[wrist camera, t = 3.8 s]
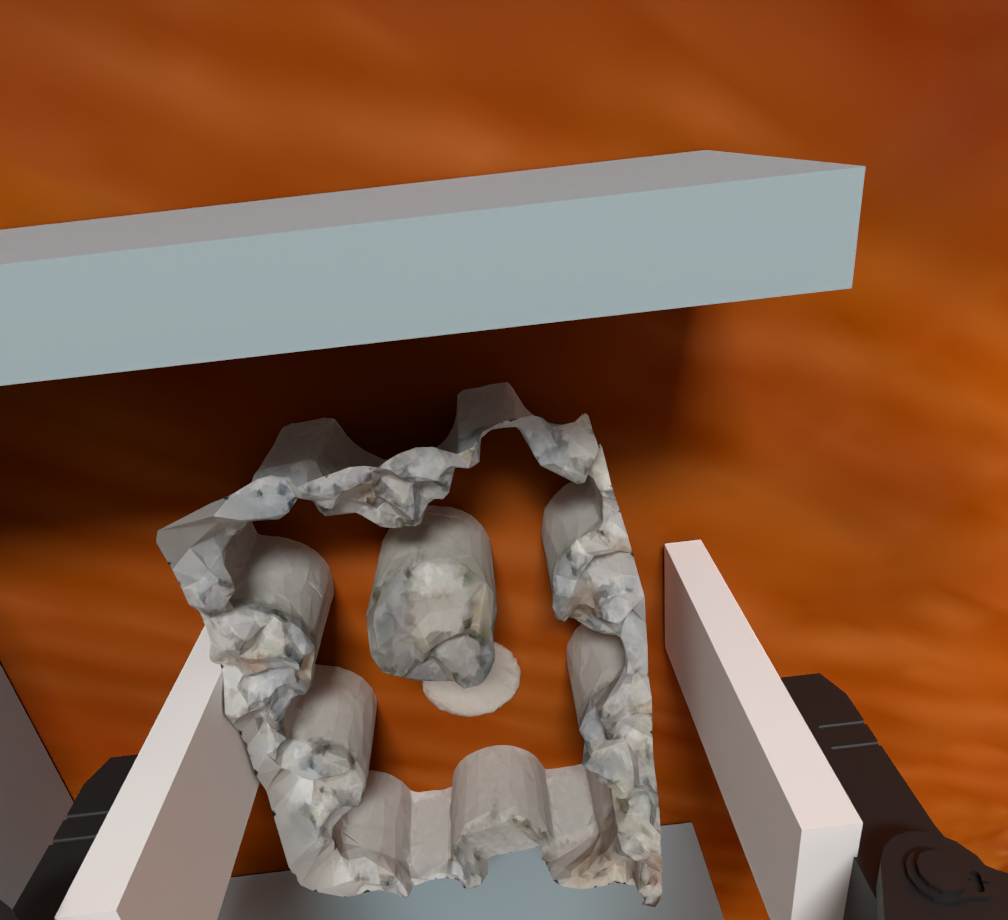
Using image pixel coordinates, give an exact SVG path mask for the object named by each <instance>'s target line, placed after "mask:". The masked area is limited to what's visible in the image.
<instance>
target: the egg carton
mask: <svg viewBox="0 0 1008 920" xmlns="http://www.w3.org/2000/svg"><path fill="white" fill-rule="evenodd" d="M505 427H516V428H517V429H519V430H520V431H521V433H522V435H523V437H524V438H525V440H526V442H527V444H528V446H529V447H530V449H531V451H532V453H533V455H534V456H535V458H536V459H537V461H538V462H539V464H540V465H541V466H542V467H544V468H546V469H548V470H550V471H552V472H554V473H556V474H558V475H560V476H562V477H564V478H566V479H568V480H570V481H571V482H570V483H568V484H566V485H564V486H563V487H562V488H561V489H560V490H559V491H558V492H557V493H556V494H555V495H554V496H553V497H552V499H551V500H550V501H549V503H548V504H547V506H546V507H545V509H544V514H543V521H542V528H541V534H542V540H543V546H544V551H545V555H546V561H547V567H548V573H549V579H550V585H551V590H552V593H553V610H554V613H555V616H556V620H561V621H566V620H567V618H575V619H576V620H578V621H579V622H581V624H580V625H579V626H578V627H577V628H576V629H575V631H574V633H573V634H572V636H571V638H570V640H569V642H568V644H567V658H566V659H567V666H568V672H569V677H570V682H571V688H572V693H573V698H574V703H575V708H576V714H577V719H578V725H579V731H580V734H581V735H582V737H583V739H584V741H585V744H584V752H583V760H582V764H579V765H575V766H567V767H562V768H556V769H545V768H544V767H543V766H542V764H541V763H540V762H539V760H538V759H537V758H536V757H535V756H534V755H533V754H531V753H530V752H528V751H526V750H524V749H521V748H518V747H514V746H508V745H498V746H491V747H486V748H483V749H481V750H478V751H476V752H474V753H472V754H470V755H468V756H466V757H465V758H464V759H463V760H461V761H460V762H459V764H458V765H457V767H456V768H455V771H454V774H453V777H452V787H450V788H447V789H444V790H433V791H426V792H414V791H411V790H410V789H409V788H408V787H407V786H406V785H405V784H404V783H403V782H402V781H401V780H399V779H397V778H396V777H394V776H393V775H390V774H387V773H384V772H379V771H373V770H369V765H370V757H371V750H372V742H373V734H374V727H375V718H376V711H377V697H376V695H375V694H374V692H373V689H372V688H371V687H370V686H369V685H368V683H367V682H366V681H365V680H364V679H363V678H362V677H360V676H359V675H357V674H355V673H354V672H352V671H349V670H346V669H343V668H340V667H337V666H326V665H317V664H315V662H316V658H317V655H318V651H319V647H320V644H321V639H322V635H323V631H324V627H325V624H326V620H327V617H328V613H329V609H330V605H331V602H332V599H333V596H334V581H333V577H332V573H331V571H330V568H329V566H328V564H327V563H326V561H325V560H324V559H323V558H322V557H321V556H320V555H319V553H317V552H316V551H315V550H314V549H312V548H310V547H309V546H307V545H305V544H303V543H301V542H298V541H294V540H291V539H288V538H284V537H277V536H266V535H260V534H258V533H257V531H256V530H255V528H254V525H253V523H252V521H258V520H279V519H280V518H281V517H283V516H284V515H286V514H287V513H288V512H289V511H290V509H291V508H292V506H293V505H294V503H295V502H296V500H297V499H298V498H301V499H306V500H311V501H313V502H314V504H315V505H316V507H317V508H318V510H319V511H320V512H321V513H322V514H324V515H325V516H332V515H340V514H348V513H358V514H360V515H362V516H364V517H365V518H367V519H369V520H370V521H372V522H374V523H375V524H377V525H379V526H380V527H388V528H390V529H389V530H388V532H387V533H386V535H385V536H384V539H383V541H382V545H381V550H380V554H379V558H378V563H377V568H376V573H375V579H374V584H373V589H372V592H371V596H370V600H369V605H368V609H367V613H366V617H367V630H368V638H369V645H370V653H371V657H372V659H373V661H374V662H375V663H376V665H377V666H378V667H379V668H380V669H381V670H382V672H384V673H388V674H391V675H395V676H401V677H402V676H403V677H404V678H408V679H412V680H419V681H422V683H423V691H424V693H425V695H426V696H427V698H428V699H429V700H430V701H431V702H432V703H433V704H434V705H435V706H437V707H438V708H439V709H440V710H443V711H446V712H449V713H451V714H454V715H459V716H465V717H472V716H479V715H482V714H486V713H493V712H494V711H495V710H496V709H497V708H498V707H501V706H502V705H503V704H505V703H506V702H508V701H509V700H511V699H512V697H513V695H514V693H515V692H516V690H517V688H518V687H519V684H520V672H521V670H520V667H519V666H518V664H517V659H516V658H514V657H513V653H512V652H510V651H509V650H508V649H506V648H505V647H504V646H502V645H501V644H498V643H496V642H494V640H493V632H494V626H495V621H496V616H497V601H496V588H495V580H494V569H493V568H494V567H493V557H492V547H491V543H490V541H491V540H490V538H489V536H488V535H487V533H486V531H485V529H484V527H483V526H482V525H481V524H480V523H479V522H478V521H477V520H476V519H475V518H474V517H473V516H472V515H470V514H468V513H466V512H464V511H462V510H460V509H456V508H453V507H444V506H435V505H428V503H429V502H431V501H433V500H434V499H444V498H445V496H446V495H447V494H448V493H449V491H450V486H451V482H452V478H453V474H454V470H455V468H471V467H473V466H475V465H476V464H477V463H479V462H480V445H481V438H482V437H483V436H484V435H485V434H487V433H488V432H489V431H490V430H493V429H498V428H505ZM427 505H428V506H427ZM156 543H157V545H158V547H159V548H160V550H161V552H162V553H163V555H164V557H165V558H166V560H167V562H168V563H169V565H170V567H171V569H172V570H173V572H174V574H175V576H176V578H177V580H178V582H179V584H180V586H181V588H182V590H183V592H184V594H185V597H186V599H187V601H188V603H189V605H191V606H192V607H194V608H195V609H197V610H198V611H199V612H200V614H201V616H202V619H203V621H204V623H205V626H206V628H207V631H208V634H209V637H210V640H211V641H210V654H209V657H210V659H211V661H212V662H214V663H216V664H221V669H222V673H223V683H224V703H225V715H226V716H227V717H228V719H229V720H230V721H231V723H232V724H233V725H234V726H235V728H236V729H237V730H238V731H239V733H240V735H241V737H242V739H243V741H244V743H245V745H246V747H247V750H248V753H249V756H250V759H251V762H252V765H253V768H254V771H255V774H256V776H257V778H258V779H259V781H260V782H261V784H262V785H263V787H264V788H265V790H266V791H267V794H268V798H269V802H270V805H271V809H272V812H273V816H274V819H275V822H276V826H277V829H278V833H279V836H280V839H281V843H282V846H283V850H284V853H285V856H286V860H287V863H288V867H289V868H290V870H291V871H292V873H293V874H294V876H295V877H296V879H297V880H298V882H299V883H300V885H301V886H304V887H306V888H308V889H310V890H312V891H314V892H320V893H325V894H331V895H336V896H341V897H351V896H354V895H358V894H362V893H366V892H370V891H375V890H383V891H386V892H389V893H393V894H397V895H399V896H401V897H402V898H404V899H405V898H407V897H408V896H409V894H410V892H411V890H412V889H413V887H414V886H415V885H417V884H420V883H423V882H426V881H429V880H434V879H440V878H451V879H457V880H458V881H460V882H461V884H462V886H463V888H465V889H468V890H469V889H472V888H474V887H477V886H480V885H481V884H482V882H483V880H484V879H485V877H486V876H487V874H488V860H489V858H490V857H492V856H494V855H499V854H506V853H512V852H516V851H521V850H525V849H529V848H533V847H538V846H541V849H542V860H543V861H545V863H546V865H547V867H548V870H549V872H550V874H551V877H552V879H553V881H555V882H556V883H558V884H559V885H561V886H562V887H569V888H577V889H587V888H596V887H601V886H606V885H609V884H610V883H611V882H613V881H615V882H616V883H620V884H625V885H636V887H637V890H638V892H639V893H640V894H641V895H642V897H643V898H644V899H645V900H644V902H643V904H642V905H646V906H651V907H656V905H657V904H658V902H659V901H660V898H661V894H662V875H661V872H662V874H663V870H662V854H661V844H660V839H661V828H660V814H659V802H658V794H657V782H656V776H655V768H654V759H653V739H652V697H651V691H650V684H649V678H648V647H647V632H646V616H645V597H644V593H643V590H642V586H641V583H640V579H639V576H638V572H637V568H636V564H635V561H634V557H633V553H632V550H631V546H630V542H629V539H628V535H627V532H626V529H625V526H624V522H623V519H622V516H621V513H620V510H619V507H618V504H617V501H616V498H615V495H614V492H613V488H612V485H611V481H610V477H609V473H608V469H607V465H606V460H605V456H604V453H603V449H602V446H601V444H599V445H598V444H597V441H596V438H595V435H594V433H593V430H592V426H591V423H590V419H589V416H588V415H587V414H586V413H583V414H582V415H581V416H580V417H579V418H578V419H577V420H576V421H575V422H573V423H568V424H564V425H559V424H552V423H549V422H547V421H545V420H544V419H543V418H542V417H538V416H534V415H533V414H531V413H530V412H529V411H528V410H527V409H526V408H525V407H524V405H523V404H522V402H521V400H520V399H519V397H518V396H517V395H516V393H515V391H514V389H513V388H512V387H511V386H510V384H509V383H508V382H503V383H496V384H490V385H486V386H482V387H479V388H471V389H466V390H463V391H461V392H460V393H459V394H458V395H457V414H456V418H455V422H454V425H453V428H452V429H451V431H450V433H449V435H448V437H447V438H446V439H445V440H444V441H443V442H442V443H441V444H440V445H439V446H438V447H437V448H435V447H416V448H413V449H411V450H408V451H405V452H402V453H399V454H398V455H396V456H394V457H392V458H390V459H389V460H386V459H382V458H380V457H378V456H375V455H373V454H371V453H369V452H367V451H365V450H364V449H362V448H360V447H359V446H358V445H356V444H355V443H354V442H353V441H352V440H351V439H350V438H349V437H348V436H347V435H346V434H345V432H344V431H343V429H342V428H341V426H340V425H339V424H338V423H337V421H336V420H335V419H333V418H325V417H324V418H320V419H315V420H310V421H305V422H300V423H291V424H289V425H287V426H285V427H282V429H281V431H280V432H279V434H278V436H277V438H276V441H275V443H274V445H273V447H272V448H271V450H270V451H269V453H268V454H267V456H266V458H265V459H264V461H263V462H262V464H261V466H260V467H259V469H258V470H257V471H256V473H255V474H254V476H253V479H252V482H251V483H250V484H248V485H246V486H245V487H243V488H241V489H240V490H238V491H237V492H235V493H233V494H232V495H229V496H227V497H225V498H222V499H220V500H217V501H215V502H213V503H210V504H208V505H206V506H204V507H202V508H201V509H199V510H197V511H195V512H193V513H191V514H189V515H187V516H185V517H183V518H181V519H179V520H177V521H175V522H173V523H172V524H170V525H168V526H166V527H164V528H162V529H160V530H158V531H157V538H156Z"/></svg>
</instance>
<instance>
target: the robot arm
mask: <svg viewBox="0 0 1008 920" xmlns="http://www.w3.org/2000/svg"><path fill="white" fill-rule="evenodd" d="M664 563H665V649H666V651H667V654H668V656H669V659H670V661H671V664H672V667H673V669H674V672H675V674H676V677H677V680H678V682H679V685H680V687H681V690H682V693H683V695H684V698H685V700H686V703H687V705H688V708H689V711H690V713H691V716H692V718H693V721H694V724H695V726H696V729H697V731H698V734H699V737H700V739H701V742H702V744H703V747H704V750H705V752H706V755H707V757H708V760H709V762H710V765H711V768H712V770H713V773H714V775H715V778H716V781H717V783H718V786H719V788H720V791H721V794H722V796H723V799H724V801H725V804H726V806H727V809H728V812H729V814H730V817H731V819H732V822H733V825H734V827H735V830H736V832H737V835H738V838H739V840H740V843H741V845H742V848H743V851H744V853H745V856H746V858H747V861H748V863H749V866H750V869H751V871H752V874H753V876H754V879H755V882H756V884H757V887H758V889H759V892H760V895H761V897H762V900H763V902H764V905H765V907H766V910H767V913H768V915H769V918H770V920H1008V873H1005V872H1002V871H998V870H995V869H993V868H991V867H988V866H986V865H985V864H984V863H983V862H982V861H981V860H980V859H979V858H978V857H977V856H976V855H975V854H973V853H972V852H970V851H969V850H968V849H966V848H965V847H963V846H962V845H960V844H959V843H957V842H956V841H953V840H951V839H948V838H946V837H944V836H943V835H942V833H941V832H940V831H939V830H938V829H937V827H936V826H935V825H934V824H933V822H932V821H931V819H930V818H929V816H928V815H927V813H926V812H925V810H924V809H923V807H922V806H921V804H920V803H919V801H918V800H917V798H916V797H915V795H914V794H913V792H912V791H911V789H910V788H909V786H908V785H907V783H906V782H905V781H904V779H903V778H902V776H901V775H900V773H899V772H898V770H897V769H896V767H895V766H894V764H893V763H892V761H891V760H890V758H889V757H888V755H887V754H886V752H885V751H884V749H883V748H882V746H879V745H878V742H877V739H876V737H875V736H874V734H873V733H872V731H871V730H870V729H869V727H868V726H867V724H864V722H863V718H862V717H861V715H860V714H859V712H858V711H857V709H856V708H855V706H854V705H853V703H852V702H851V700H850V699H849V697H848V696H847V694H846V693H844V692H843V691H842V690H840V689H839V688H838V687H837V686H835V685H834V684H833V683H831V682H830V681H829V680H827V679H826V678H825V677H824V676H822V675H821V674H820V673H817V674H809V675H800V676H792V677H783V678H780V677H779V675H778V674H777V672H776V670H775V668H774V667H773V665H772V663H771V661H770V660H769V658H768V656H767V654H766V653H765V651H764V649H763V647H762V646H761V644H760V642H759V640H758V639H757V637H756V635H755V633H754V632H753V630H752V628H751V626H750V625H749V623H748V621H747V619H746V618H745V616H744V614H743V612H742V611H741V609H740V607H739V605H738V604H737V602H736V600H735V598H734V597H733V595H732V593H731V591H730V590H729V588H728V586H727V584H726V583H725V581H724V579H723V578H722V576H721V574H720V572H719V571H718V569H717V567H716V565H715V564H714V562H713V560H712V558H711V557H710V555H709V553H708V551H707V550H706V548H705V546H704V544H703V543H702V541H701V540H693V541H684V542H676V543H667V544H664ZM210 641H211V640H210V637H209V634H208V631H207V628H206V626H204V628H203V630H202V632H201V634H200V636H199V638H198V640H197V642H196V644H195V645H194V647H193V649H192V651H191V653H190V655H189V657H188V659H187V661H186V663H185V665H184V667H183V669H182V671H181V673H180V675H179V677H178V678H177V680H176V682H175V684H174V686H173V688H172V690H171V692H170V694H169V696H168V698H167V700H166V702H165V704H164V706H163V708H162V710H161V712H160V713H159V715H158V717H157V719H156V721H155V723H154V725H153V727H152V729H151V731H150V733H149V735H148V737H147V739H146V741H145V743H144V745H143V746H142V748H141V750H140V752H139V754H138V755H130V756H122V757H113V758H110V759H109V760H108V761H107V762H106V763H105V764H104V765H103V766H102V767H101V768H100V769H99V770H98V771H97V772H96V773H95V774H94V775H93V776H92V777H91V778H90V779H89V780H88V781H87V782H86V783H85V784H84V785H83V787H82V789H81V791H80V792H79V794H78V796H77V798H76V799H75V801H74V803H73V805H72V806H71V808H70V810H69V812H68V813H67V819H66V820H63V822H62V824H61V826H60V827H59V829H58V831H57V833H56V834H55V836H54V838H53V844H52V845H49V846H48V848H47V850H46V852H45V853H44V855H43V857H42V859H41V860H40V862H39V864H38V866H37V867H36V869H35V871H34V873H33V874H32V876H31V878H30V880H29V881H28V883H27V885H26V887H25V888H24V890H23V892H22V894H21V895H20V897H19V899H18V900H17V902H16V904H15V906H14V907H13V909H11V908H10V907H9V906H8V905H6V904H5V903H4V902H2V901H1V900H0V920H217V919H218V915H219V912H220V909H221V906H222V903H223V899H224V896H225V893H226V890H227V886H228V883H229V880H230V877H231V873H232V870H233V867H234V864H235V860H236V857H237V854H238V851H239V847H240V844H241V841H242V838H243V834H244V831H245V828H246V825H247V822H248V818H249V815H250V812H251V809H252V805H253V802H254V799H255V796H256V792H257V789H258V786H259V783H260V781H259V779H258V778H257V776H256V774H255V771H254V768H253V765H252V762H251V759H250V756H249V753H248V750H247V747H246V745H245V743H244V741H243V739H242V737H241V735H240V733H239V731H238V730H237V729H236V728H235V726H234V725H233V724H232V723H231V721H230V720H229V719H228V717H227V716H226V715H225V703H224V683H223V673H222V669H221V664H216V663H214V662H212V661H211V659H210V657H209V654H210Z"/></svg>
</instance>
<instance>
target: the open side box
mask: <svg viewBox="0 0 1008 920" xmlns="http://www.w3.org/2000/svg"><path fill="white" fill-rule="evenodd" d="M864 175H865V166H858V165H848V164H838V163H829V162H819V161H809V160H799V159H789V158H779V157H770V156H760V155H750V154H740V153H730V152H721V151H711V150H702V151H693V152H684V153H675V154H666V155H658V156H649V157H640V158H631V159H622V160H613V161H605V162H596V163H587V164H578V165H569V166H560V167H552V168H543V169H534V170H525V171H516V172H507V173H499V174H490V175H481V176H472V177H463V178H454V179H446V180H437V181H428V182H419V183H410V184H401V185H393V186H384V187H375V188H366V189H357V190H348V191H340V192H331V193H322V194H313V195H304V196H295V197H287V198H278V199H269V200H260V201H251V202H242V203H234V204H225V205H216V206H207V207H198V208H189V209H181V210H172V211H163V212H154V213H145V214H136V215H127V216H119V217H110V218H101V219H92V220H83V221H74V222H66V223H57V224H48V225H39V226H30V227H21V228H13V229H4V230H0V386H3V385H12V384H21V383H29V382H38V381H47V380H55V379H64V378H73V377H82V376H90V375H99V374H108V373H116V372H125V371H134V370H143V369H151V368H160V367H169V366H177V365H186V364H195V363H204V362H212V361H221V360H230V359H238V358H247V357H256V356H265V355H273V354H282V353H291V352H299V351H308V350H317V349H326V348H334V347H343V346H352V345H360V344H369V343H378V342H387V341H395V340H404V339H413V338H422V337H430V336H439V335H448V334H456V333H465V332H474V331H483V330H491V329H500V328H509V327H517V326H526V325H535V324H544V323H552V322H561V321H570V320H578V319H587V318H596V317H605V316H613V315H622V314H631V313H639V312H648V311H657V310H666V309H674V308H683V307H692V306H700V305H709V304H718V303H727V302H735V301H744V300H753V299H761V298H770V297H779V296H788V295H796V294H805V293H814V292H823V291H831V290H840V289H849V288H852V282H853V273H854V264H855V255H856V246H857V237H858V228H859V219H860V210H861V201H862V192H863V183H864ZM73 803H74V802H73V800H72V798H71V797H70V795H69V793H68V791H67V789H66V787H65V785H64V783H63V781H62V780H61V778H60V776H59V774H58V772H57V770H56V768H55V766H54V765H53V763H52V761H51V759H50V757H49V755H48V753H47V751H46V749H45V748H44V746H43V744H42V742H41V740H40V738H39V736H38V734H37V733H36V731H35V729H34V727H33V725H32V723H31V721H30V719H29V717H28V716H27V714H26V712H25V710H24V708H23V706H22V704H21V702H20V700H19V699H18V697H17V695H16V693H15V691H14V689H13V687H12V685H11V684H10V682H9V680H8V678H7V676H6V674H5V672H4V670H3V668H2V667H1V665H0V900H1V901H2V902H4V903H5V904H6V905H8V906H9V907H10V908H11V909H13V907H14V906H15V904H16V902H17V900H18V899H19V897H20V895H21V894H22V892H23V890H24V888H25V887H26V885H27V883H28V881H29V880H30V878H31V876H32V874H33V873H34V871H35V869H36V867H37V866H38V864H39V862H40V860H41V859H42V857H43V855H44V853H45V852H46V850H47V848H48V846H49V845H52V844H53V838H54V836H55V834H56V833H57V831H58V829H59V827H60V826H61V824H62V822H63V820H66V819H67V813H68V812H69V810H70V808H71V806H72V805H73ZM660 828H661V839H660V844H661V854H662V870H663V874H662V872H661V875H662V894H661V898H660V901H659V902H658V904H657V905H656V907H651V906H646V905H642V904H643V902H644V900H645V899H644V898H643V897H642V895H641V894H640V893H639V892H638V890H637V887H636V885H625V884H620V883H616V882H615V881H613V882H611V883H610V884H609V885H606V886H601V887H596V888H587V889H577V888H569V887H562V886H561V885H559V884H558V883H556V882H555V881H553V879H552V877H551V874H550V872H549V870H548V867H547V865H546V863H545V861H543V860H542V849H541V846H538V847H533V848H529V849H525V850H521V851H516V852H512V853H506V854H499V855H494V856H492V857H490V858H489V860H488V874H487V876H486V877H485V879H484V880H483V882H482V884H481V885H480V886H477V887H474V888H472V889H469V890H468V889H465V888H463V886H462V884H461V882H460V881H458V880H457V879H451V878H440V879H434V880H429V881H426V882H423V883H420V884H417V885H415V886H414V887H413V889H412V890H411V892H410V894H409V896H408V897H407V898H405V899H404V898H402V897H401V896H399V895H397V894H393V893H389V892H386V891H383V890H375V891H370V892H366V893H362V894H358V895H354V896H351V897H341V896H336V895H331V894H325V893H320V892H314V891H312V890H310V889H308V888H306V887H304V886H301V885H300V883H299V882H298V880H297V879H296V877H295V876H294V874H293V873H292V871H291V870H289V871H281V872H273V873H264V874H256V875H248V876H239V877H231V878H230V880H229V883H228V886H227V890H226V893H225V896H224V899H223V903H222V906H221V909H220V912H219V915H218V919H217V920H724V917H723V914H722V911H721V908H720V905H719V902H718V899H717V896H716V893H715V890H714V887H713V884H712V881H711V878H710V875H709V872H708V869H707V866H706V863H705V860H704V857H703V854H702V851H701V848H700V845H699V842H698V839H697V836H696V833H695V830H694V827H693V824H692V822H690V823H682V824H673V825H665V826H660Z"/></svg>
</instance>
